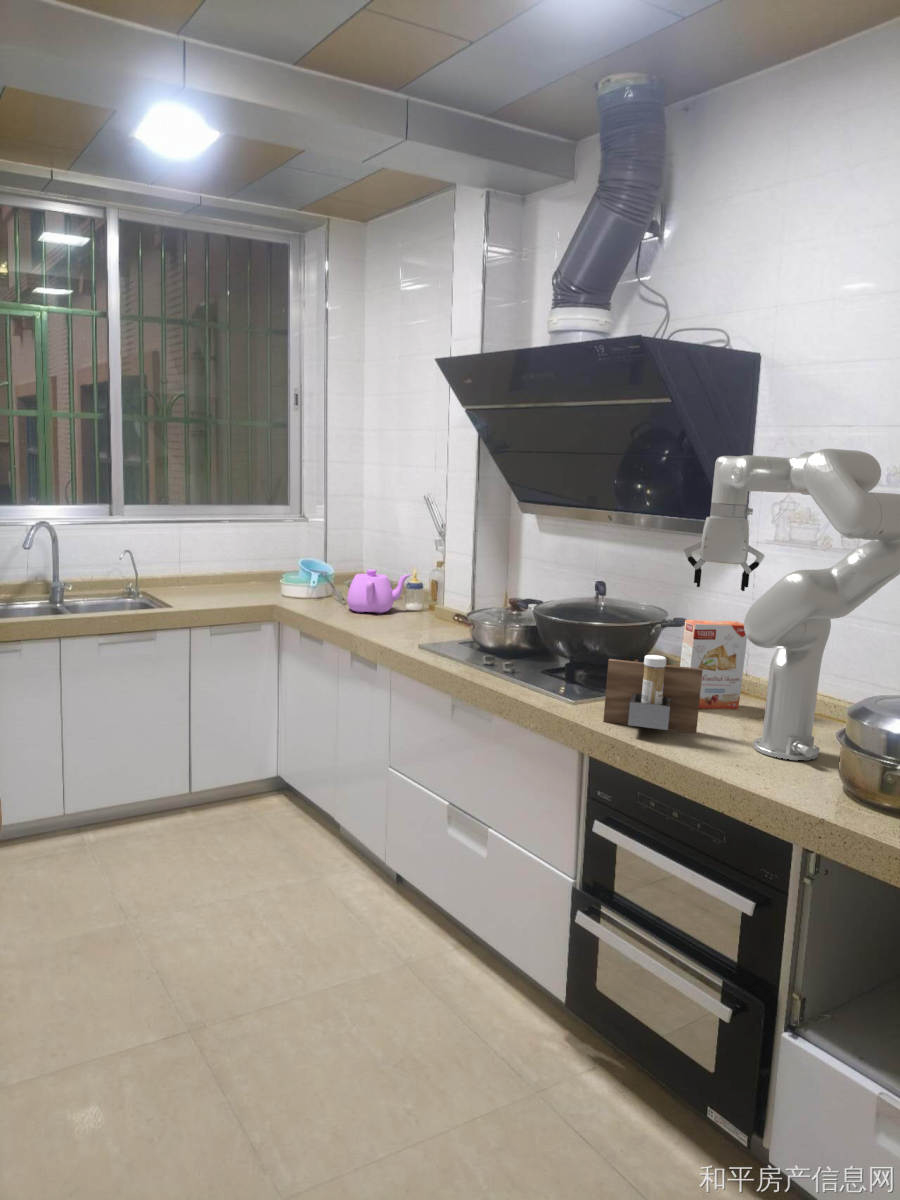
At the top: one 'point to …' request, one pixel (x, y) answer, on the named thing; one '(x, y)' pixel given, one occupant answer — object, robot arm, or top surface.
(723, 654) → the cracker box
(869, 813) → the top surface
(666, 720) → the wall holder
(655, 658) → the sprinkles bottle
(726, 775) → the top surface
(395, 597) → the teapot
